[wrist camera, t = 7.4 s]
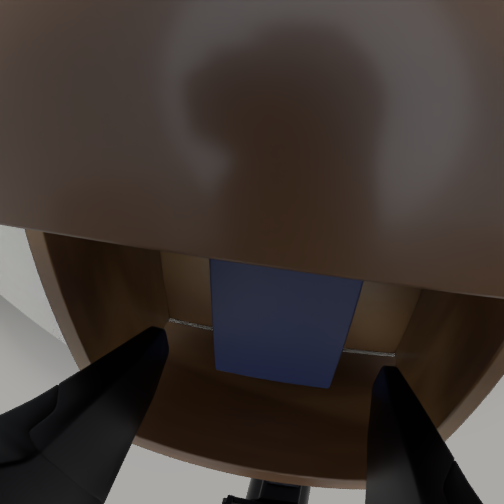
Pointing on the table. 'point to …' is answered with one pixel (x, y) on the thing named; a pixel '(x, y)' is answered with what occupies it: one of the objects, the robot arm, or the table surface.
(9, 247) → the table surface
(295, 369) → the card deck
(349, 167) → the cabinet
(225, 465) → the drawer
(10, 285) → the table surface
